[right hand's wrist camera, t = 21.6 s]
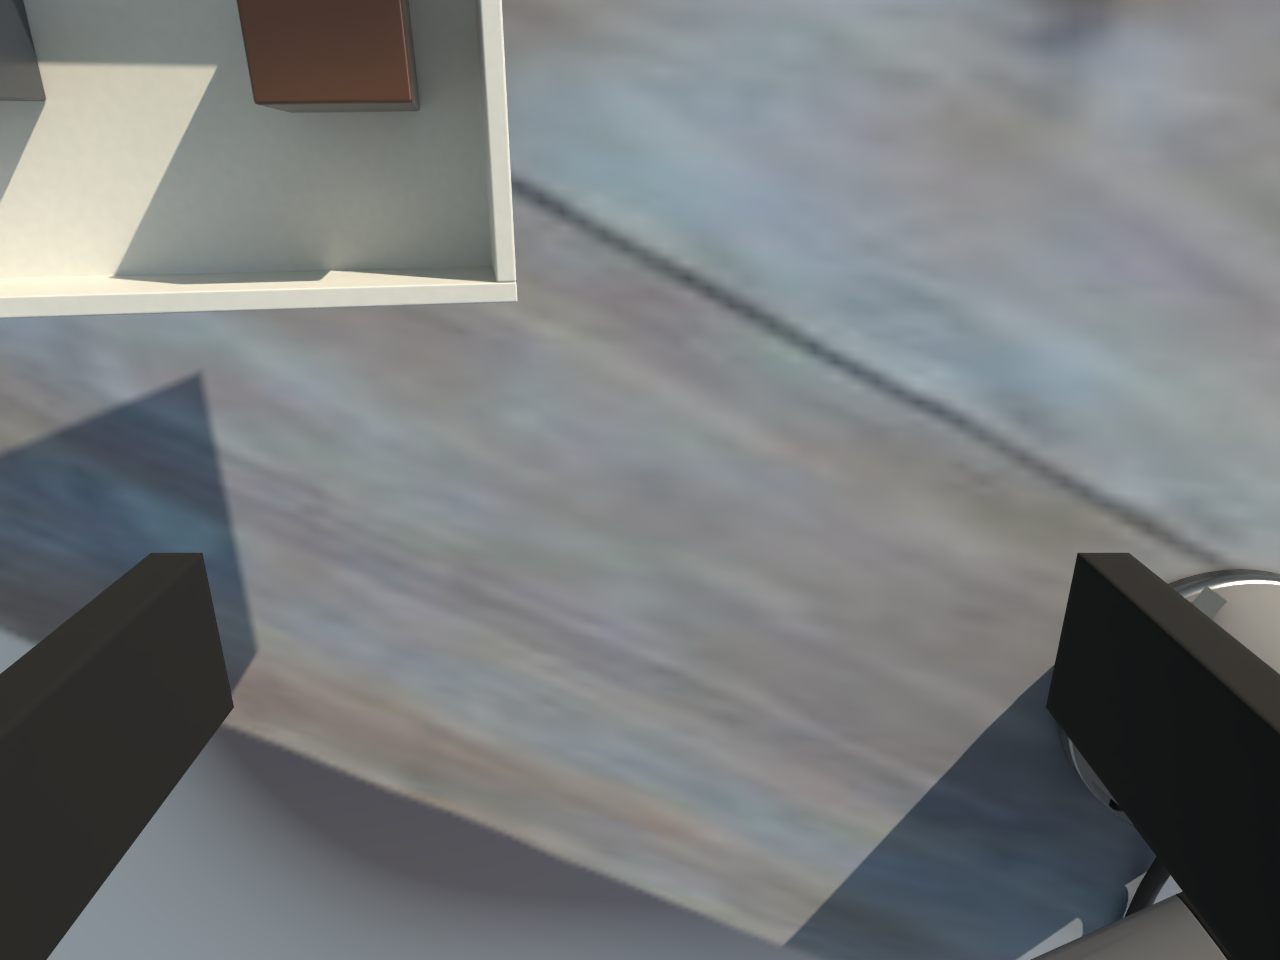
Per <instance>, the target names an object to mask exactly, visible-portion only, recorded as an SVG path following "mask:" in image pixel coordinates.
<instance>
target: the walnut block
mask: <svg viewBox="0 0 1280 960" xmlns="http://www.w3.org/2000/svg"><path fill="white" fill-rule="evenodd" d="M236 1H237V6H238V12H239V18H240V24H241V30H242V36H243V41H244V47H245V53H246V59H247V65H248V71H249V76H250V82H251V88H252V94H253V100H254V102H255V104H257V105H261V106H265V107H269V108H273V109H278V110H282V111H286V112H291V113H319V112H404V111H419V110H420V102H419V93H418V83H417V74H416V64H415V55H414V45H413V36H412V26H411V17H410V7H409V0H236Z"/></svg>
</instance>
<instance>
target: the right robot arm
mask: <svg viewBox="0 0 1280 960" xmlns="http://www.w3.org/2000/svg"><path fill="white" fill-rule="evenodd" d="M233 708H234V705H233V701H232V696H231V691H230V686H229V681H228V676H227V671H226V666H225V662H224V657H223V652H222V647H221V642H220V637H219V632H218V627H217V622H216V618H215V613H214V608H213V603H212V598H211V593H210V588H209V583H208V579H207V574H206V569H205V564H204V559H203V554H202V553H151V554H149V555H148V556H147V557H146V558H144V559H143V560H142V561H141V562H139V563H138V564H137V565H136V566H134V567H133V568H132V569H131V570H129V571H128V572H127V573H126V574H124V575H123V576H122V577H121V578H119V579H118V580H117V581H116V582H114V583H113V584H112V585H111V586H109V587H108V588H107V589H106V590H105V591H103V592H102V593H101V594H100V595H98V596H97V597H96V598H95V599H93V600H92V601H91V602H90V603H88V604H87V605H86V606H85V607H83V608H82V609H81V610H80V611H78V612H77V613H76V614H75V615H73V616H72V617H71V618H70V619H68V620H67V621H66V622H65V623H63V624H62V625H61V626H60V627H58V628H57V629H56V630H55V631H53V632H52V633H51V634H50V635H49V636H47V637H46V638H45V639H44V640H42V641H41V642H40V643H39V644H37V645H36V646H35V647H34V648H32V649H31V650H30V651H29V652H27V653H26V654H25V655H24V656H22V657H21V658H20V659H19V660H17V661H16V662H15V663H14V664H12V665H11V666H10V667H9V668H7V669H6V670H5V671H4V672H2V673H1V674H0V960H46V959H47V958H48V957H49V955H50V954H51V953H52V951H53V950H54V949H55V947H56V946H57V945H58V943H59V942H60V941H61V939H62V938H63V937H64V935H65V934H66V933H67V931H68V930H69V929H70V927H71V926H72V925H73V923H74V922H75V920H76V919H77V918H78V916H79V915H80V914H81V912H82V911H83V910H84V908H85V907H86V906H87V904H88V903H89V902H90V900H91V899H92V898H93V896H94V895H95V893H96V892H97V891H98V889H99V888H100V887H101V885H102V884H103V883H104V881H105V880H106V879H107V877H108V876H109V875H110V873H111V872H112V871H113V869H114V868H115V867H116V865H117V864H118V863H119V861H120V860H121V859H122V857H123V856H124V854H125V853H126V852H127V850H128V849H129V848H130V846H131V845H132V844H133V842H134V841H135V840H136V838H137V837H138V836H139V834H140V833H141V832H142V830H143V829H144V828H145V826H146V825H147V824H148V822H149V821H150V819H151V818H152V817H153V815H154V814H155V813H156V811H157V810H158V809H159V807H160V806H161V805H162V803H163V802H164V801H165V799H166V798H167V797H168V795H169V794H170V793H171V791H172V790H173V788H174V787H175V786H176V784H177V783H178V782H179V780H180V779H181V778H182V776H183V775H184V774H185V772H186V771H187V770H188V768H189V767H190V765H191V764H192V763H193V762H194V760H195V759H196V758H197V756H198V755H199V753H200V752H201V751H202V749H203V748H204V747H205V745H206V744H207V743H208V741H209V740H210V739H211V737H212V736H213V735H214V733H215V732H216V731H217V729H218V728H219V727H220V725H221V724H222V722H223V721H224V720H225V718H226V717H227V716H228V714H229V713H230V712H231V710H232V709H233ZM1046 708H1047V709H1048V710H1049V712H1050V713H1051V714H1052V716H1053V717H1054V718H1055V720H1056V721H1057V723H1058V724H1059V733H1060V737H1061V742H1062V745H1063V748H1064V751H1065V753H1066V755H1067V757H1068V759H1069V761H1070V763H1071V765H1072V766H1073V767H1074V769H1075V770H1076V772H1077V773H1078V775H1079V776H1080V777H1081V779H1082V780H1083V782H1084V783H1085V784H1086V786H1087V787H1088V789H1089V790H1090V791H1091V792H1092V793H1093V794H1094V795H1095V797H1097V798H1098V799H1099V800H1100V801H1101V802H1102V803H1103V804H1104V805H1105V806H1106V807H1107V808H1108V809H1109V810H1111V811H1112V812H1113V813H1114V814H1116V815H1117V816H1119V817H1120V818H1121V819H1123V820H1124V821H1126V822H1127V823H1129V824H1131V825H1132V826H1134V827H1135V828H1136V829H1137V830H1138V832H1139V833H1140V834H1141V836H1142V837H1143V838H1144V840H1145V841H1146V842H1147V844H1148V845H1149V846H1150V848H1151V849H1152V850H1153V852H1154V853H1155V854H1156V856H1157V857H1156V858H1155V860H1154V862H1153V863H1152V865H1151V867H1150V868H1149V870H1148V871H1147V873H1146V874H1145V876H1144V878H1143V879H1142V881H1141V883H1140V885H1139V887H1138V889H1137V891H1136V893H1135V895H1134V897H1133V899H1132V902H1131V904H1130V906H1129V908H1128V910H1127V913H1126V915H1125V917H1124V918H1122V919H1120V920H1118V921H1116V922H1114V923H1111V924H1109V925H1107V926H1105V927H1102V928H1100V929H1098V930H1096V931H1093V932H1091V933H1089V934H1087V935H1085V936H1082V937H1080V938H1078V939H1076V940H1073V941H1071V942H1069V943H1067V944H1065V945H1062V946H1060V947H1058V948H1056V949H1053V950H1051V951H1049V952H1047V953H1044V954H1042V955H1040V956H1038V957H1036V958H1033V959H1031V960H1280V574H1276V573H1271V572H1266V571H1258V570H1242V569H1239V570H1222V571H1214V572H1208V573H1203V574H1199V575H1194V576H1191V577H1187V578H1184V579H1181V580H1178V581H1175V582H1172V583H1170V584H1167V583H1166V582H1164V581H1163V580H1162V579H1161V578H1159V577H1158V576H1157V575H1156V574H1154V573H1153V572H1152V571H1151V570H1149V569H1148V568H1147V567H1146V566H1144V565H1143V564H1142V563H1141V562H1139V561H1138V560H1137V559H1136V558H1134V557H1133V556H1132V555H1131V554H1129V553H1078V554H1077V559H1076V564H1075V569H1074V574H1073V579H1072V583H1071V588H1070V593H1069V598H1068V603H1067V608H1066V613H1065V618H1064V622H1063V627H1062V632H1061V637H1060V642H1059V647H1058V652H1057V657H1056V662H1055V666H1054V671H1053V676H1052V681H1051V686H1050V691H1049V696H1048V701H1047V705H1046ZM1170 875H1171V876H1172V877H1173V879H1174V880H1175V881H1176V883H1177V884H1178V885H1179V887H1180V888H1181V890H1182V891H1183V892H1181V893H1179V894H1176V895H1173V896H1171V897H1169V898H1167V899H1165V900H1163V901H1160V902H1158V903H1156V904H1154V905H1153V903H1154V901H1155V899H1156V897H1157V895H1158V893H1159V891H1160V890H1161V888H1162V887H1163V885H1164V884H1165V882H1166V881H1167V879H1168V878H1169V876H1170Z"/></svg>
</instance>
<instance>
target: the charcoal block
mask: <svg viewBox="0 0 1280 960" xmlns="http://www.w3.org/2000/svg"><path fill="white" fill-rule="evenodd" d="M45 100H46V96H45V91H44V87H43V83H42V79H41V74H40V70H39V66H38V62H37V57H36V53H35V49H34V44H33V40H32V36H31V32H30V27H29V23H28V19H27V15H26V10H25V6H24V2H23V0H0V101H45Z"/></svg>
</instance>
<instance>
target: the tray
mask: <svg viewBox="0 0 1280 960" xmlns="http://www.w3.org/2000/svg"><path fill="white" fill-rule="evenodd" d="M23 2H24V6H25V10H26V15H27V19H28V23H29V27H30V32H31V36H32V40H33V44H34V49H35V53H36V57H37V62H38V66H39V70H40V74H41V79H42V83H43V87H44V91H45V96H46V100H45V101H0V318H31V317H63V316H94V315H125V314H156V313H187V312H219V311H250V310H281V309H312V308H343V307H375V306H406V305H437V304H468V303H499V302H517V285H516V282H515V281H516V267H515V248H514V228H513V209H512V190H511V171H510V152H509V132H508V113H507V94H506V75H505V56H504V36H503V17H502V0H409V7H410V17H411V26H412V36H413V45H414V55H415V64H416V74H417V83H418V93H419V102H420V110H419V111H404V112H319V113H291V112H286V111H282V110H278V109H273V108H269V107H265V106H261V105H257V104H255V102H254V100H253V94H252V88H251V82H250V76H249V71H248V65H247V59H246V53H245V47H244V41H243V36H242V30H241V24H240V18H239V12H238V6H237V1H236V0H23Z"/></svg>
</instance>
